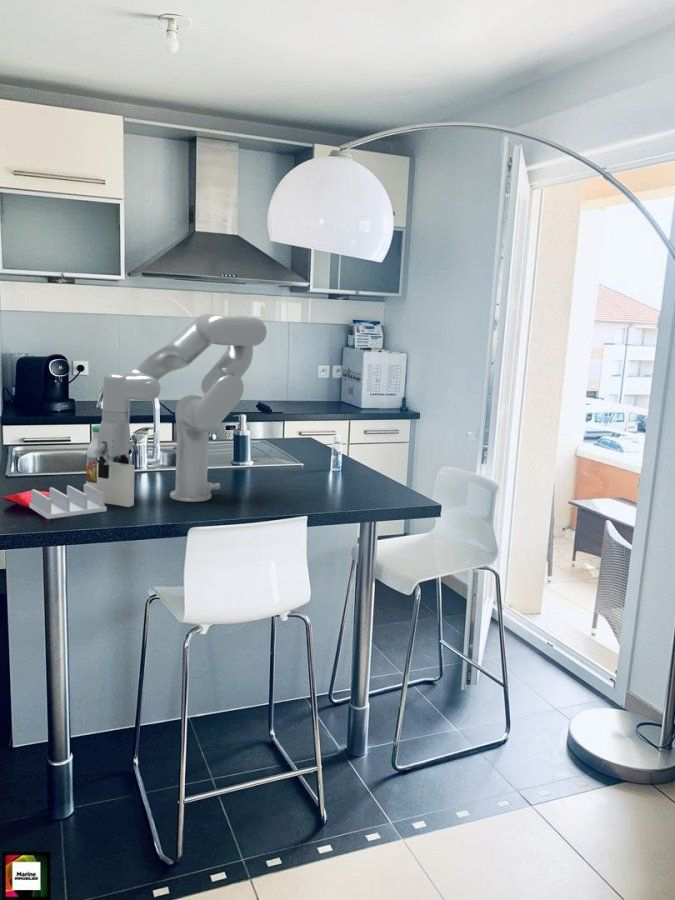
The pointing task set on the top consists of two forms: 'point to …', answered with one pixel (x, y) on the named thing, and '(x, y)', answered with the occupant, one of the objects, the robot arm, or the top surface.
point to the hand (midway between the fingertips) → (113, 475)
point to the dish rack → (68, 502)
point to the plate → (118, 484)
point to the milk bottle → (93, 459)
